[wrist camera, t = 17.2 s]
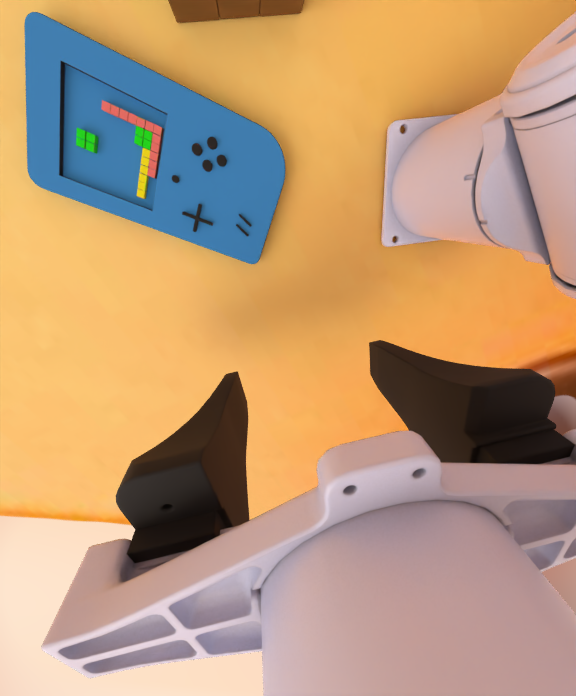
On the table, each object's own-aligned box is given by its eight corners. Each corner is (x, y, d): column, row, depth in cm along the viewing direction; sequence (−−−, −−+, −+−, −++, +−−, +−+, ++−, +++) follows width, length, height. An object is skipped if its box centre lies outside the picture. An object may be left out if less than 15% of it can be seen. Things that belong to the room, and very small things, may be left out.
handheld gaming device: (257, 267, 20) (23, 182, 16) (256, 264, 21) (36, 184, 17) (297, 142, 17) (18, -1, 13) (294, 146, 18) (34, 14, 14)
